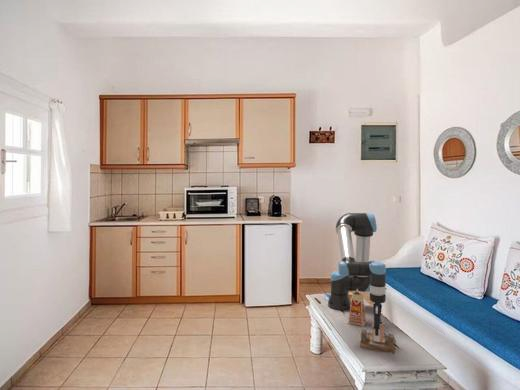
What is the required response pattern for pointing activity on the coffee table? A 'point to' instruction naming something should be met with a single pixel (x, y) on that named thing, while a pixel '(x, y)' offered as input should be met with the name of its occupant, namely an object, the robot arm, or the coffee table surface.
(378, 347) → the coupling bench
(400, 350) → the coffee table surface
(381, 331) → the block
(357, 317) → the milk carton
